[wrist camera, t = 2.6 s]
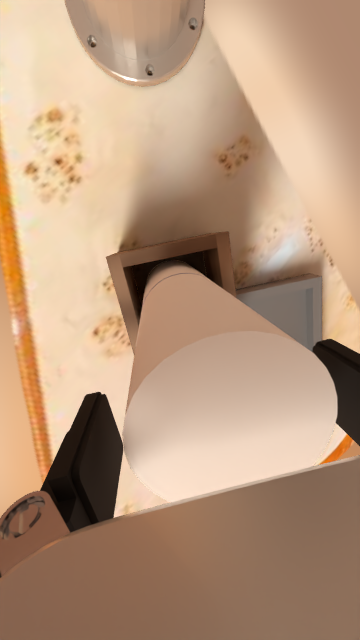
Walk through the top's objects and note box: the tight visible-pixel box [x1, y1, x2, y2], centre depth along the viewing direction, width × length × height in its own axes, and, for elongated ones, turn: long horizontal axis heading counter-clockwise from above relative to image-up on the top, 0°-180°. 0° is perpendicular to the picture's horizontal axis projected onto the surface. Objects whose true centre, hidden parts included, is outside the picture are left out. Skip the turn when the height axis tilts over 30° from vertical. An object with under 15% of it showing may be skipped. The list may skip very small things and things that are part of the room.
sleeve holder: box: [106, 232, 236, 355], centre depth 28 cm, size 11×11×8 cm
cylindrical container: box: [122, 260, 337, 502], centre depth 20 cm, size 7×7×25 cm
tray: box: [236, 274, 322, 352], centre depth 34 cm, size 16×12×2 cm
